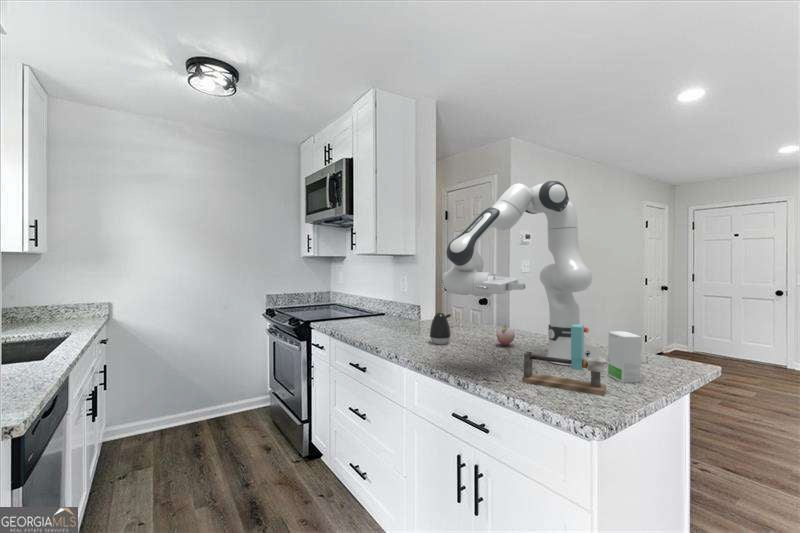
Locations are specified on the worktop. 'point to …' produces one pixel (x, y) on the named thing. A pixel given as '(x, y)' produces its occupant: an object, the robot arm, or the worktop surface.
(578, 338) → the teal rectangular block
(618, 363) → the skincare box
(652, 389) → the worktop surface
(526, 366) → the wooden rod holder
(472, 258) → the robot arm
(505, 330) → the decorative fruit
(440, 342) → the pump dispenser
